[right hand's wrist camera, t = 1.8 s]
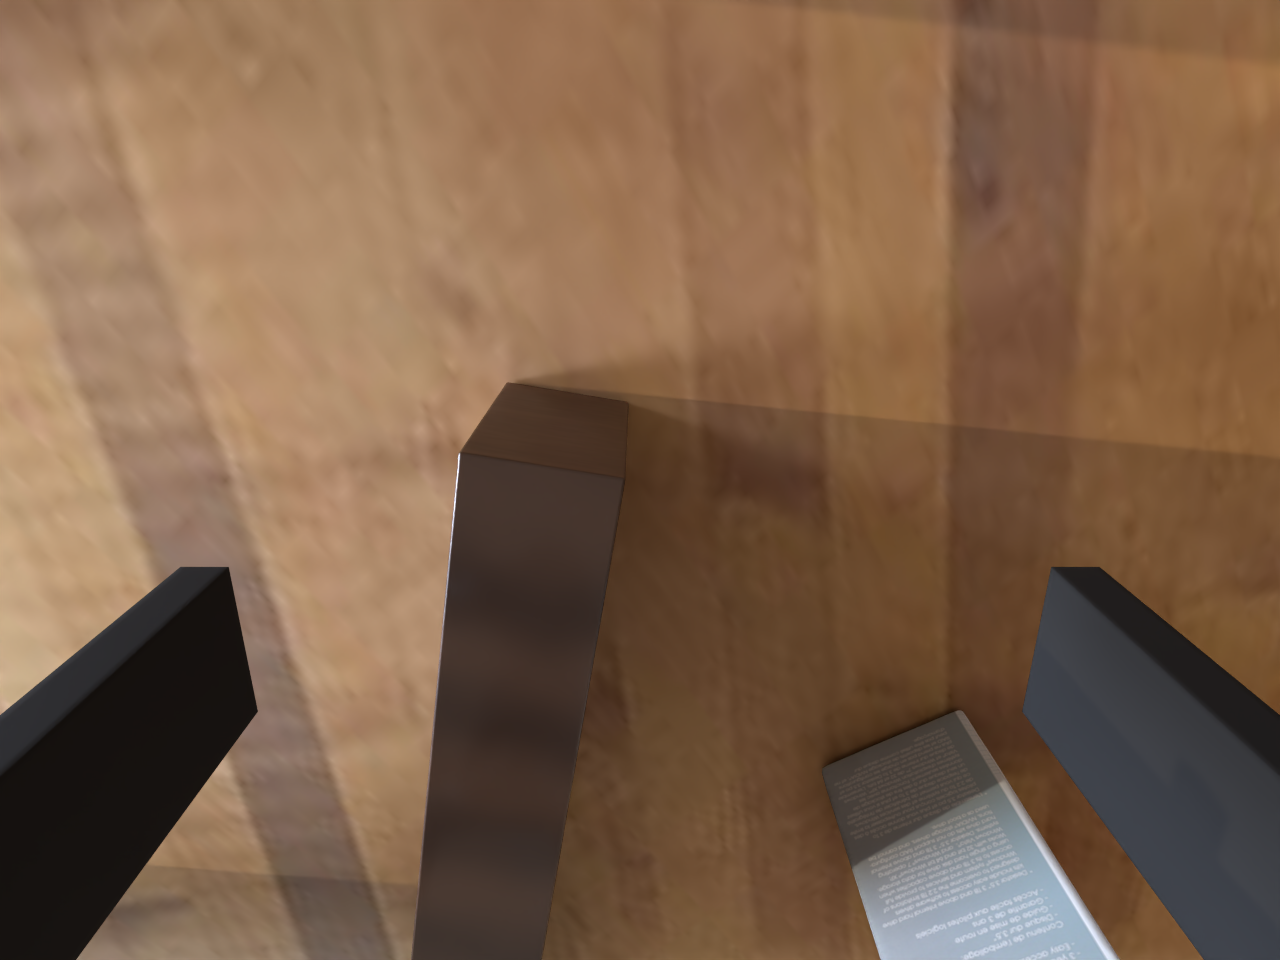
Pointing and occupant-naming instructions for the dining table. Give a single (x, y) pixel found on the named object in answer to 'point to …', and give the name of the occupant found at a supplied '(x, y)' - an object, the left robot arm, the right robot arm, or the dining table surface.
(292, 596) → the dining table surface
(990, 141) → the dining table surface
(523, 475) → the walnut beam
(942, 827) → the hard drive box
